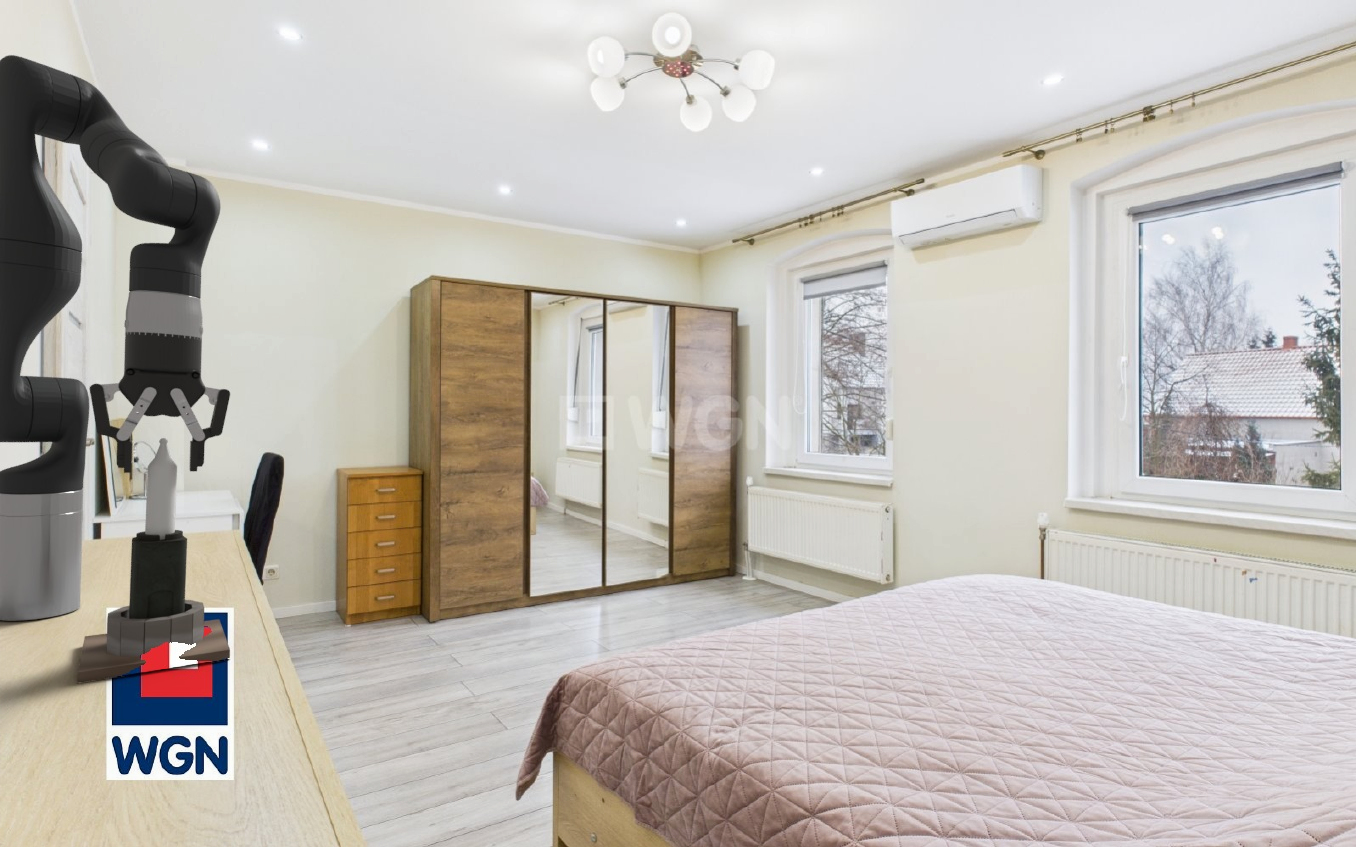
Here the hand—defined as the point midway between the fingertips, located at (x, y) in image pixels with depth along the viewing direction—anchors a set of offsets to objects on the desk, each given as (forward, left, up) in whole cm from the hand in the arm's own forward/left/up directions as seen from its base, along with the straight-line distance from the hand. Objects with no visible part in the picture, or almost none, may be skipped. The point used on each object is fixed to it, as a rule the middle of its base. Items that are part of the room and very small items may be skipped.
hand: (160, 471), depth 85 cm
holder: (0, 0, -22) cm, 22 cm away
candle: (0, 0, -21) cm, 21 cm away
